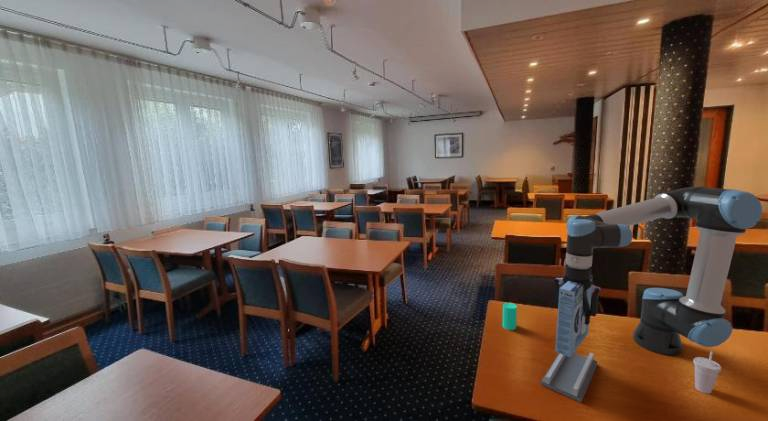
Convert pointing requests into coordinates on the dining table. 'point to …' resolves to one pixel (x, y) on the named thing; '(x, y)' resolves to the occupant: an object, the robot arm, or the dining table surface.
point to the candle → (509, 316)
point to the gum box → (571, 317)
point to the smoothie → (705, 373)
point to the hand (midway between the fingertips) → (573, 328)
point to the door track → (570, 375)
